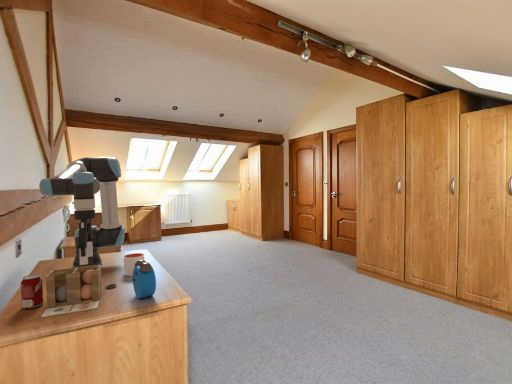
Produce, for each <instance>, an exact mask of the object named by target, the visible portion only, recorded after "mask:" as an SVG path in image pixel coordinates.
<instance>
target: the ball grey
mask: <svg viewBox="0 0 512 384" xmlns="http://www.w3.org/2000/svg"><path fill="white" fill-rule="evenodd" d="M55 298H56V299H57V300H58V301H61V302H63V301H67V286H62V287H60V288H58V289H57V290H56V292H55Z"/></svg>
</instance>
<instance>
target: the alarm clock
mask: <svg viewBox="0 0 512 384" xmlns="http://www.w3.org/2000/svg"><path fill="white" fill-rule="evenodd" d="M132 286H133V287H132V288H133V291H134V294H135V296H136V298H137V299H143V298H144V299H145V298H146V297H151V298H153V296H154V295H155V293H156V291H157V290H156V289H157V278H156V273H155V271H154V268H153V266H152V264H151V263H149V262H147V261H146V260H145V259H144V260H139V261H137V262H136V263H135V267H134V269H133V276H132Z"/></svg>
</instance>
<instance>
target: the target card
mask: <svg viewBox="0 0 512 384" xmlns="http://www.w3.org/2000/svg"><path fill="white" fill-rule="evenodd" d="M99 303H100V301H94V302H86V303H81V304H74V305H68V306H62V307H55V308H49V309H47V308H45V311H44V312H43V313H42V315H41V317H40V318H45V317H53V316H58V315H59V316H60V315H64V314H65V315H66V314H72V313H77V312H84V311H89V310H96V309H98V306H99Z"/></svg>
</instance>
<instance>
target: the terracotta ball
mask: <svg viewBox="0 0 512 384" xmlns="http://www.w3.org/2000/svg"><path fill="white" fill-rule="evenodd" d="M80 289H81V298H82V299H90V298H92V285H91V284H86V285H83V286H82V287H81V288H80Z"/></svg>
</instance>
